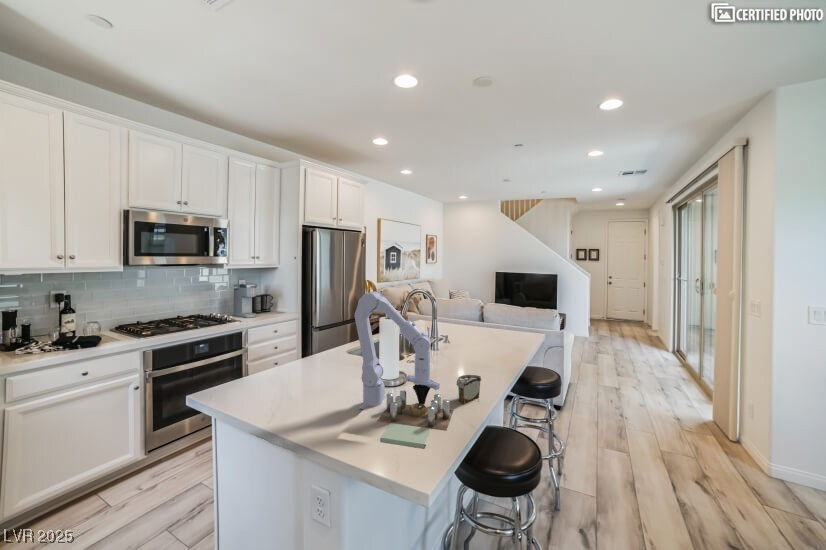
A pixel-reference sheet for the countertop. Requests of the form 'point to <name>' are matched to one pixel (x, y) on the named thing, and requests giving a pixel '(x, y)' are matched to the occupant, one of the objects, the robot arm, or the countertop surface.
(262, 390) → the countertop surface
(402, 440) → the pad
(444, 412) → the spacers
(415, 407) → the nut
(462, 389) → the food container
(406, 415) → the board
